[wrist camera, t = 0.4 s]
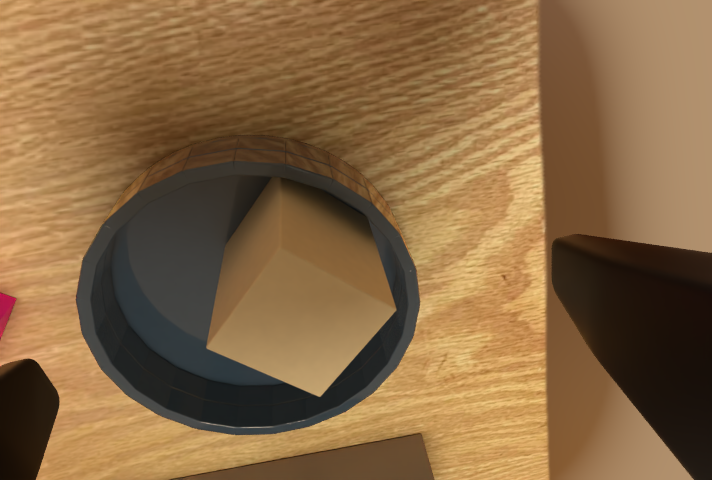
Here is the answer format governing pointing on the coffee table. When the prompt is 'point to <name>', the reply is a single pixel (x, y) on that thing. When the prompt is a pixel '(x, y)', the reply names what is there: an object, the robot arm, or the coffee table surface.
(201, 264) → the bowl
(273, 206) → the block
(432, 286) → the coffee table surface
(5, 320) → the toy block
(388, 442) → the grey angular block
